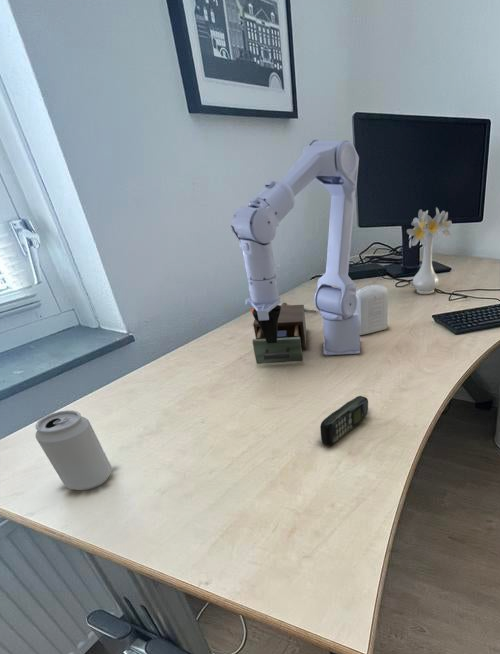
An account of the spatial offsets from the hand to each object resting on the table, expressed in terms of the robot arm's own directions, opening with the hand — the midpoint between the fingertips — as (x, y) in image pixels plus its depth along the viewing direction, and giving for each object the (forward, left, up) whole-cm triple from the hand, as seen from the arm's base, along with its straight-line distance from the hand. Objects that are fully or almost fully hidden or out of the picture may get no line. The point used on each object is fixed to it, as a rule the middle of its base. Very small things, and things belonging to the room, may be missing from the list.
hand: (272, 342), depth 96 cm
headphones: (+2, -43, -10) cm, 44 cm away
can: (+30, +33, -10) cm, 46 cm away
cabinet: (0, -24, -9) cm, 26 cm away
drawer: (0, -12, -8) cm, 15 cm away
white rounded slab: (-25, -29, -10) cm, 39 cm away
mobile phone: (-15, +23, -10) cm, 29 cm away
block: (0, -14, -7) cm, 16 cm away
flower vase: (-48, -63, -10) cm, 79 cm away
